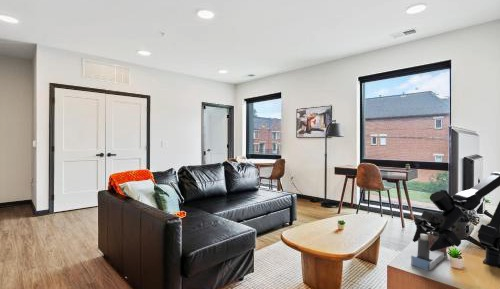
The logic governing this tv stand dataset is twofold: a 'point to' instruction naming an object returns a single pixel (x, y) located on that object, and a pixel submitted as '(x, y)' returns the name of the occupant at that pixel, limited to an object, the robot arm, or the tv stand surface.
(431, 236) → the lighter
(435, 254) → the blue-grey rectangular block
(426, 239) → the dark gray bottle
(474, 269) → the tv stand surface
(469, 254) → the tv stand surface
